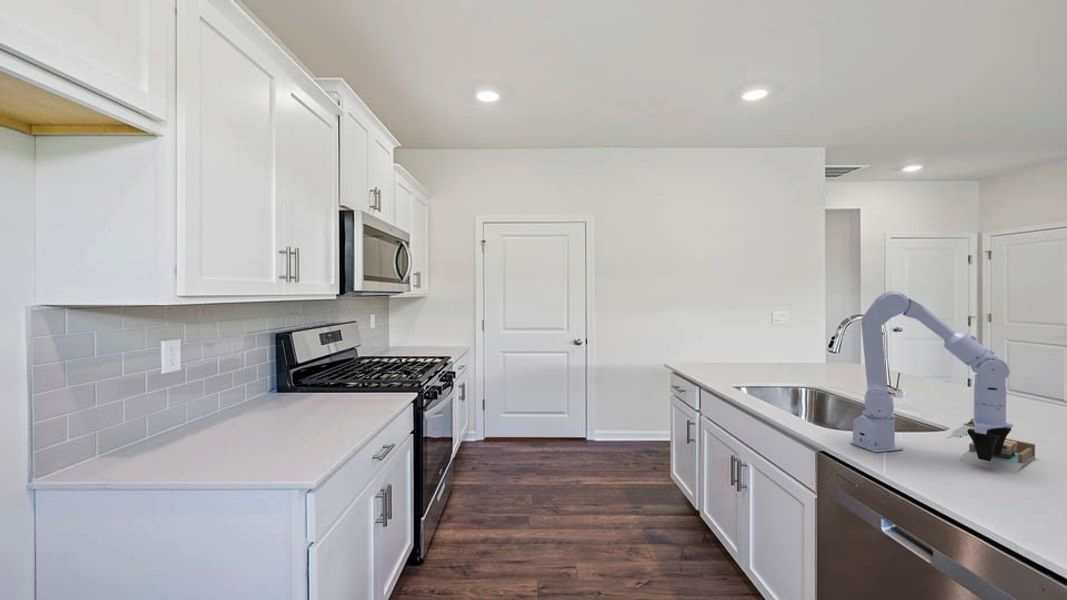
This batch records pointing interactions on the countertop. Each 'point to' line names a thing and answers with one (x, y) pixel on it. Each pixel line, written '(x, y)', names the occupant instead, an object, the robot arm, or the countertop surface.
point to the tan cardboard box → (1008, 449)
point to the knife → (963, 429)
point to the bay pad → (1012, 458)
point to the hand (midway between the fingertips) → (989, 456)
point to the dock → (1024, 457)
